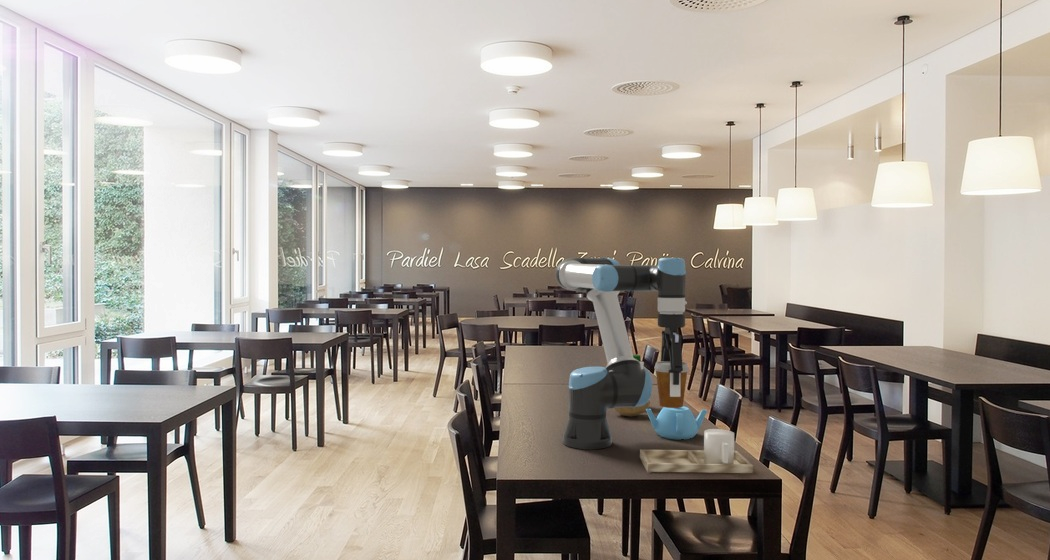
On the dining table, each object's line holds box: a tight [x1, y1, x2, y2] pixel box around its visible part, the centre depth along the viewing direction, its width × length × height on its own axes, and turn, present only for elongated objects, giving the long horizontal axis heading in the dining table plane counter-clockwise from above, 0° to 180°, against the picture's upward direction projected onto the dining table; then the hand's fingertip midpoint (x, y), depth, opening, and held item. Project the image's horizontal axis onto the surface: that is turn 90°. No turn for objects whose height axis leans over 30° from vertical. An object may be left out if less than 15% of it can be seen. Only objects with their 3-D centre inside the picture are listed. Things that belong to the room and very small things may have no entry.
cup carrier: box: [639, 449, 754, 474], centre depth 185 cm, size 28×14×2 cm, turn 89°
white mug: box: [703, 428, 735, 464], centre depth 184 cm, size 8×11×9 cm
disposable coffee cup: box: [653, 360, 690, 408], centre depth 187 cm, size 10×10×12 cm
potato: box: [613, 400, 651, 417], centre depth 247 cm, size 10×14×8 cm
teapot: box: [645, 405, 708, 441], centre depth 220 cm, size 15×15×11 cm
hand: (671, 393), depth 187 cm, fingers closed on disposable coffee cup, 9 cm apart
